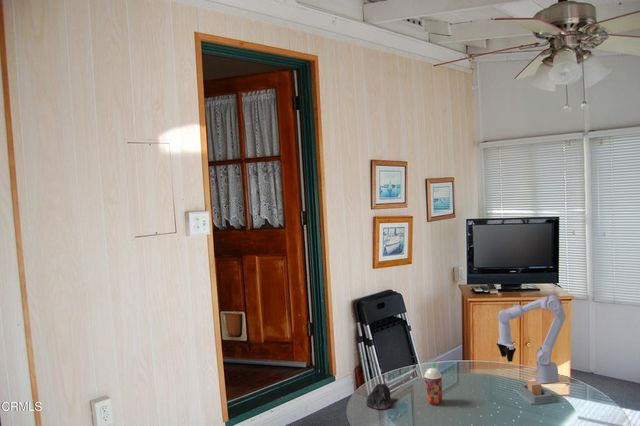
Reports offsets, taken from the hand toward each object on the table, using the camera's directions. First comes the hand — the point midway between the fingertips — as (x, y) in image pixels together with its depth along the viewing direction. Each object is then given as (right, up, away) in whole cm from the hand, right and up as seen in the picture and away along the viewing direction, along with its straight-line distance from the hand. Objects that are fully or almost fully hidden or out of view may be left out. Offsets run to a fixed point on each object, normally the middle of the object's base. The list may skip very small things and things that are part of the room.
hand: (506, 358), depth 272 cm
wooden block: (+5, -11, -24) cm, 27 cm away
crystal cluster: (-69, -18, -16) cm, 73 cm away
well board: (+5, -11, -24) cm, 27 cm away
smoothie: (-42, -16, -21) cm, 50 cm away
